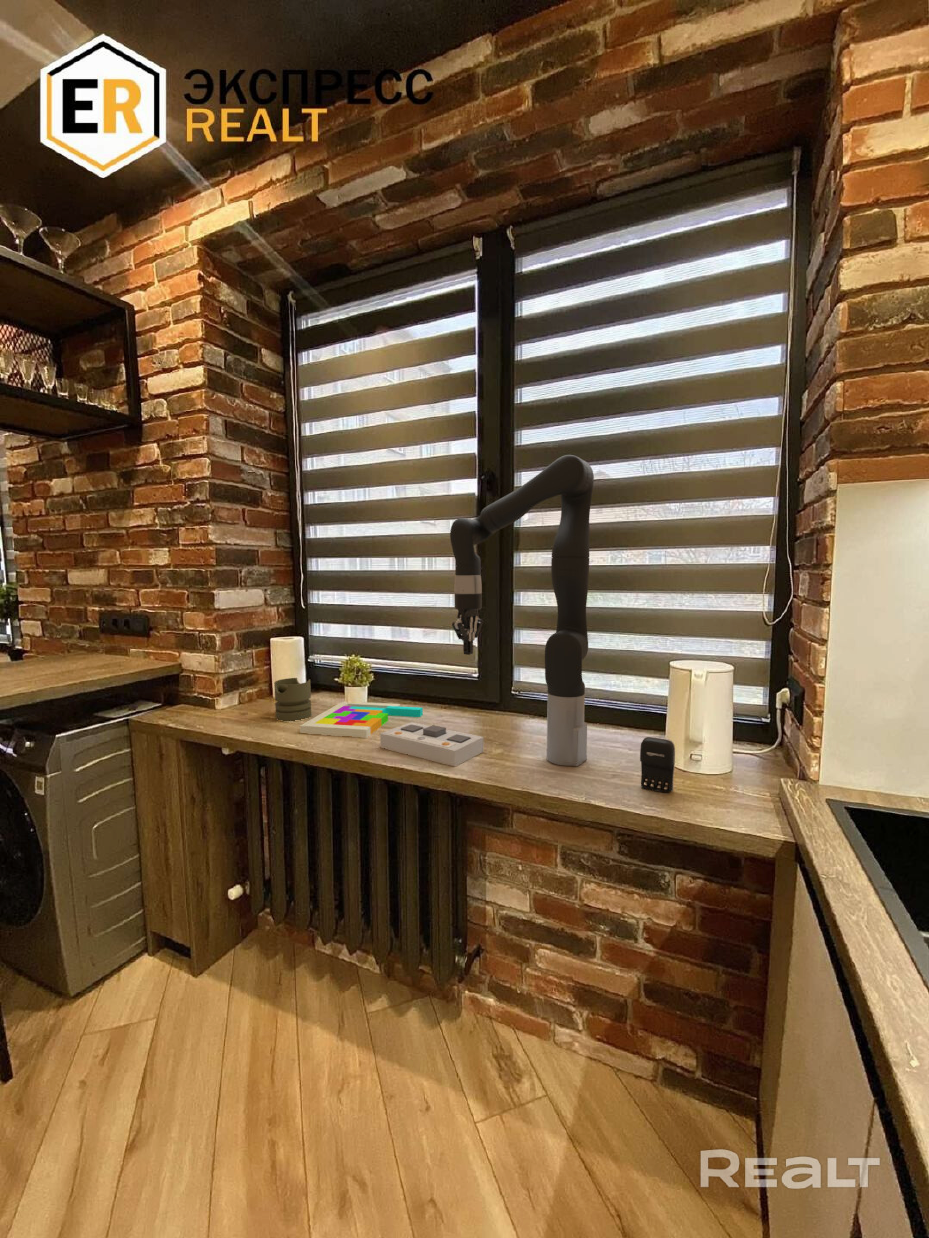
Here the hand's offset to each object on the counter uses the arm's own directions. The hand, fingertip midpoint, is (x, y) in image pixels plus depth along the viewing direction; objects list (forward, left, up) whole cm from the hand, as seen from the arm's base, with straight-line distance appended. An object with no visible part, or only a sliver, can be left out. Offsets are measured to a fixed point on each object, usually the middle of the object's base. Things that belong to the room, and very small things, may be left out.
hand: (468, 654), depth 145 cm
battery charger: (-52, +4, -25) cm, 58 cm away
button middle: (+5, +10, -22) cm, 25 cm away
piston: (+63, +11, -25) cm, 68 cm away
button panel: (+5, +11, -25) cm, 28 cm away
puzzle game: (+38, +2, -26) cm, 46 cm away
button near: (-3, +10, -23) cm, 26 cm away
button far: (+13, +10, -23) cm, 28 cm away
